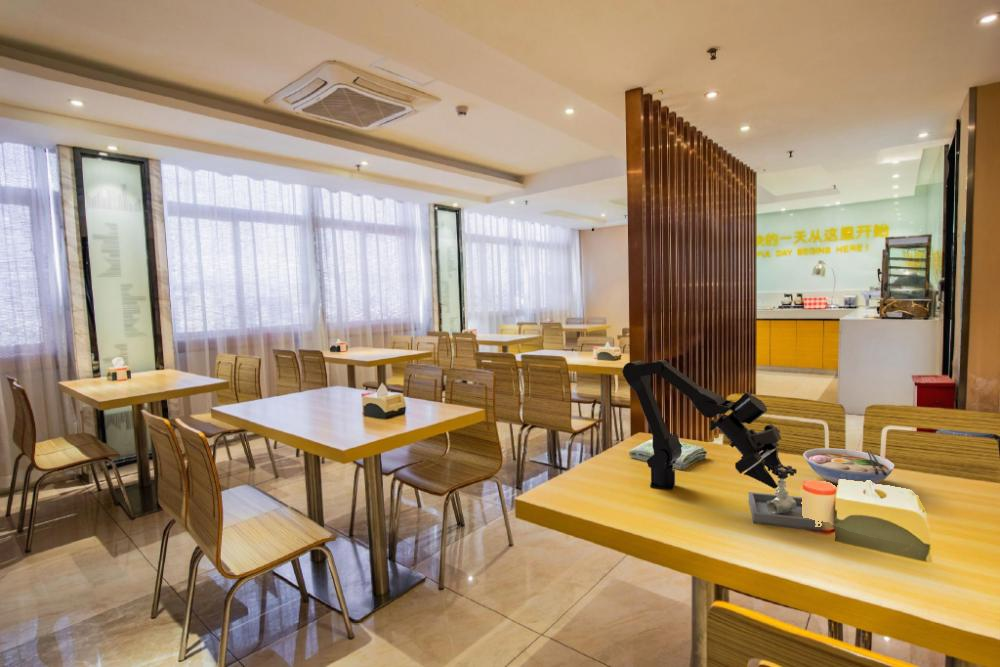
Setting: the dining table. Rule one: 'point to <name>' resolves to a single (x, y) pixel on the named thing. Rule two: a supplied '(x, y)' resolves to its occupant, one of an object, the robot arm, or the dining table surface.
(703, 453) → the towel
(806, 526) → the parts tray
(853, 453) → the ramen bowl
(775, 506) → the valve
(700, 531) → the dining table surface
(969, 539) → the dining table surface
